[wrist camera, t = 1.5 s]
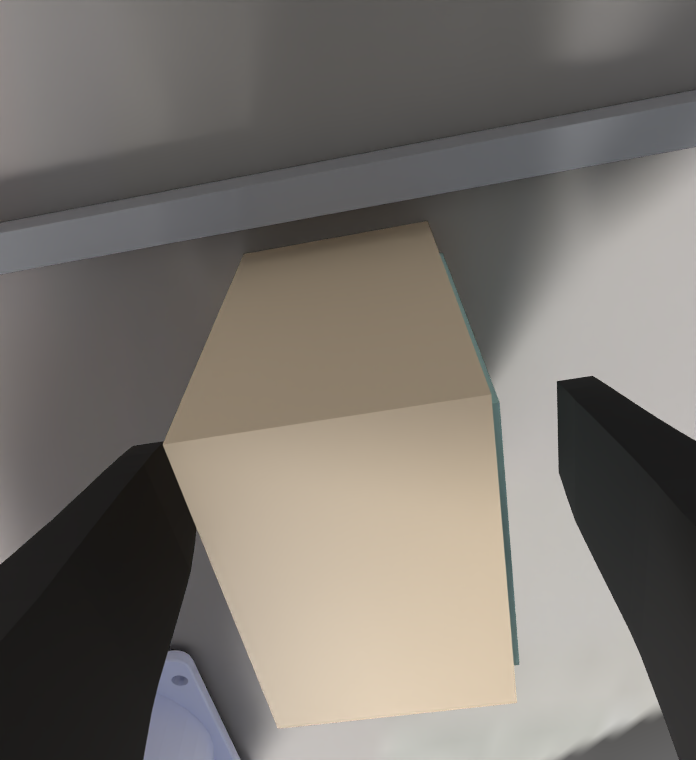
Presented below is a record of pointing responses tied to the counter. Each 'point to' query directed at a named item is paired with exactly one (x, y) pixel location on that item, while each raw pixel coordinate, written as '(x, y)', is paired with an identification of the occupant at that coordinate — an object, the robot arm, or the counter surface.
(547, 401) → the counter surface
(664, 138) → the pair of grey rails
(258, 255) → the box
